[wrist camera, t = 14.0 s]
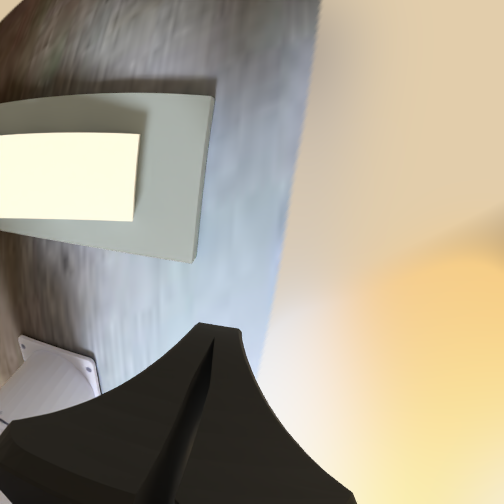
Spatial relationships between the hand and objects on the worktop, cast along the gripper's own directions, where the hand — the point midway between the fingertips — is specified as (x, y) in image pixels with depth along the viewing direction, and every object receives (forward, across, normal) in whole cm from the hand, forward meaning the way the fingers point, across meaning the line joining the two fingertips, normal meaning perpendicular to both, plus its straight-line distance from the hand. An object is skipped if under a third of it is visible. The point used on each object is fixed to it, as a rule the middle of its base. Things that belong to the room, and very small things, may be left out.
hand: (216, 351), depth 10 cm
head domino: (+8, +6, -4) cm, 10 cm away
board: (+9, +14, -4) cm, 17 cm away
